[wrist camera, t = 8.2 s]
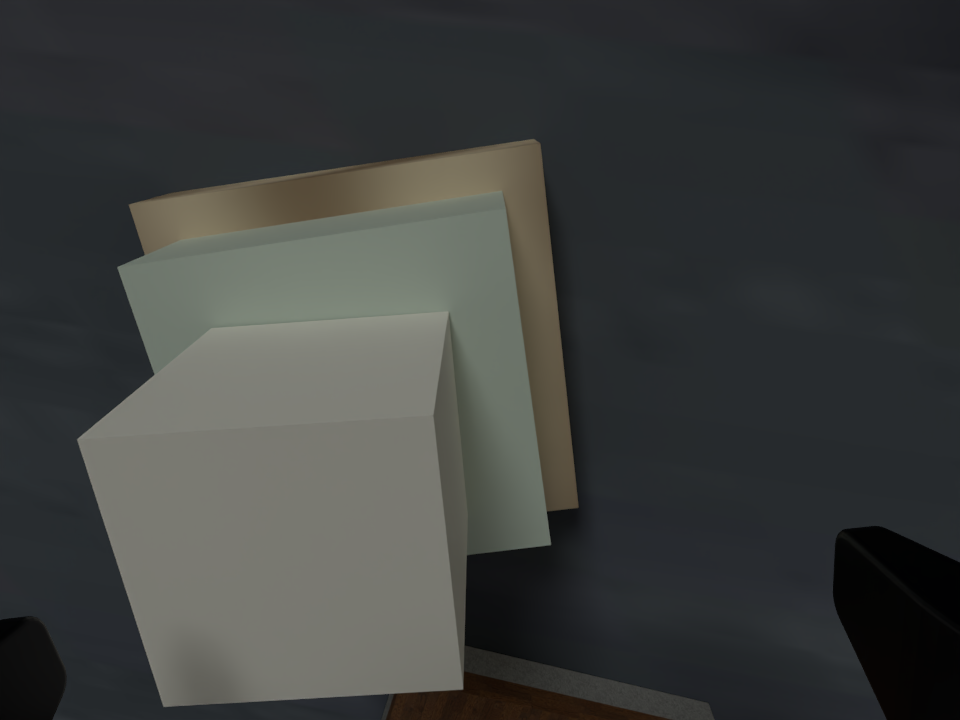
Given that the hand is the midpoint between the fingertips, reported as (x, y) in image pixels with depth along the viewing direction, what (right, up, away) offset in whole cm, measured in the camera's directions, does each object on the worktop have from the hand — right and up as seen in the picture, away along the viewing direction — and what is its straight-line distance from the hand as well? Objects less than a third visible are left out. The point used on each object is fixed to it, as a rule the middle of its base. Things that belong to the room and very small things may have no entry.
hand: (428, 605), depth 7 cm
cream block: (-2, +1, +7) cm, 8 cm away
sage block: (-2, +3, +10) cm, 11 cm away
